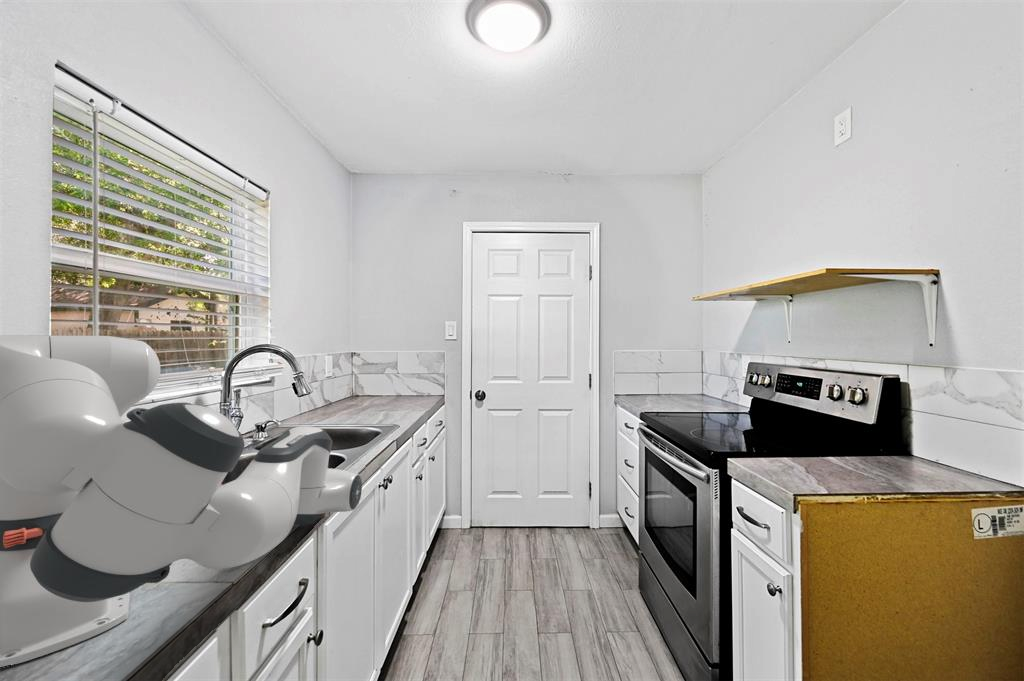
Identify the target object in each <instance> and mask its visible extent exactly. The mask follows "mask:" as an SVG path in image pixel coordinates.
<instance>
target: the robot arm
mask: <svg viewBox="0 0 1024 681" xmlns="http://www.w3.org/2000/svg"><path fill="white" fill-rule="evenodd" d="M160 377H161V362H160V359H159V357H158V354H157V353H156V351H155V350H154V349H153V348H152V347H151V346H150V345H149V344H148V343H147V342H145V341H143V340H137V339H131V338H126V337H121V336H120V337H118V336H110V335H64V334H63V335H57V334H56V335H53V334H52V335H42V334H41V335H36V334H35V335H29V334H27V335H23V334H19V335H18V334H16V335H15V334H12V335H11V334H8V335H7V334H2V335H1V334H0V666H1V667H2V666H6V665H11V666H15V665H17V664H20V663H21V664H22V663H25V662H27V661H31V660H33V659H36V658H39V657H43V656H45V655H48V654H51V653H54V652H57V651H59V650H62V649H65V648H68V647H70V646H72V645H76V644H78V643H80V642H83V641H85V640H88V639H90V638H93V637H95V636H97V635H99V634H101V633H104V632H106V631H108V630H110V629H112V628H113V627H115V626H117V625H119V624H121V623H122V622H124V621H125V620H127V619H128V618H129V615H130V606H131V605H130V604H131V592H132V591H135V590H137V589H138V588H140V587H142V586H143V585H145V584H157V583H160V582H161V581H163V580H165V579H166V578H167V577H168V576H169V574H170V569H171V568H170V566H172V564H173V563H175V562H177V561H179V560H188V561H193V562H194V563H195V564H198V566H202V567H203V568H208V569H211V570H212V569H214V570H224V569H225V570H226V569H230V568H235V567H239V566H242V565H246V564H248V563H251V562H252V561H255V560H257V559H259V558H261V557H263V556H264V555H265V554H268V553H269V552H270V551H272V550H273V549H274V548H275V547H277V546H278V545H279V544H281V543H282V542H283V541H284V540H285V539H286V538H287V536H288V535H289V534H290V533H291V531H292V528H293V527H294V526H309V525H313V524H314V523H316V522H317V521H318V520H321V519H322V517H324V516H326V513H346V512H347V513H348V512H351V511H354V510H355V509H356V508H357V507H358V506H359V504H360V500H361V498H362V497H361V496H362V489H363V483H362V482H363V481H362V477H361V475H360V474H359V473H356V472H353V471H349V470H345V469H338V468H329V459H330V454H331V450H332V446H333V440H332V438H331V436H330V435H329V434H328V433H327V431H325V429H323V428H322V429H321V428H319V427H316V426H309V425H308V426H307V425H304V426H302V425H301V426H296V427H295V426H294V427H293V428H288V429H287V430H285V431H284V432H282V433H281V434H280V435H279V436H278V437H277V439H276V440H275V439H274V440H273V441H272V442H270V443H268V444H267V445H265V446H263V447H261V449H259V450H258V452H257V453H256V455H254V457H253V458H252V459H251V461H250V463H249V464H248V465H247V467H245V469H244V470H243V471H242V473H241V474H239V476H238V477H237V478H236V479H234V480H232V481H228V482H227V483H224V484H222V483H223V481H224V480H225V478H226V476H227V475H228V473H232V471H233V470H234V469H235V467H236V465H237V464H238V461H239V460H240V458H241V456H242V454H243V451H244V449H245V444H246V443H245V440H244V438H243V435H242V433H241V432H240V431H239V430H238V428H236V426H235V424H234V423H233V422H232V421H231V420H230V419H229V418H228V417H227V416H226V415H224V414H222V412H219V411H217V410H215V409H213V408H210V407H208V406H204V405H198V404H193V403H190V402H171V403H164V404H162V403H161V404H159V405H157V406H153V407H152V408H144V407H143V408H142V407H137V408H133V409H131V408H132V407H133V406H135V405H136V404H137V403H139V402H140V401H142V400H144V399H145V398H147V397H148V396H149V395H150V394H151V393H152V391H153V390H154V389H155V388H156V386H157V384H158V383H159V380H160ZM129 409H131V410H130V411H129ZM127 411H128V412H127ZM126 412H127V413H126ZM125 413H126V419H128V420H130V421H125V420H124V419H122V416H123V415H124V414H125ZM220 484H222V486H221V487H219V486H220ZM218 487H219V488H218ZM14 664H15V665H14Z"/></svg>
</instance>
